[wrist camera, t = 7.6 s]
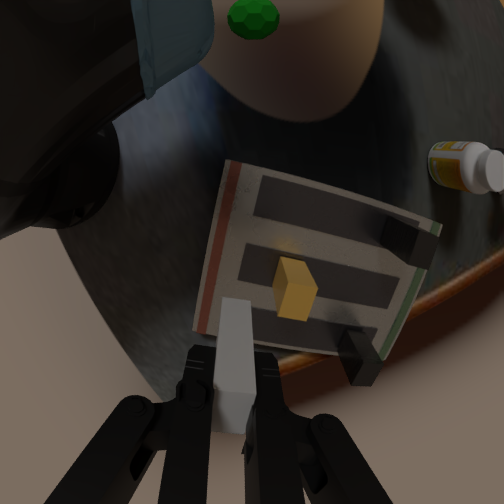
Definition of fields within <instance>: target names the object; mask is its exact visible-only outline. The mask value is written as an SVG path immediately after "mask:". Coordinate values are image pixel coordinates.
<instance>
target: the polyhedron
mask: <svg viewBox="0 0 504 504" xmlns="http://www.w3.org/2000/svg"><path fill="white" fill-rule="evenodd" d="M279 16H280V15H279V12H278V10H277V9H276V7H275V6H274V5H273V4H272V2H271V1H269V0H238V1H237V2H235V3H234V4H233V6H232V7H231V8H230V10H229V13H228V15H227V18H228V24H229V26H230V29H231V31H233V32H234V33H235V34H237V35H238V36H240V37H242V38H244V39H249V40H250V39H263V38H265V37H267V36H268V35H270V34H271V33H273V32H274V31H275V30H276V29H277V27H278V24H279Z"/></svg>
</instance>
